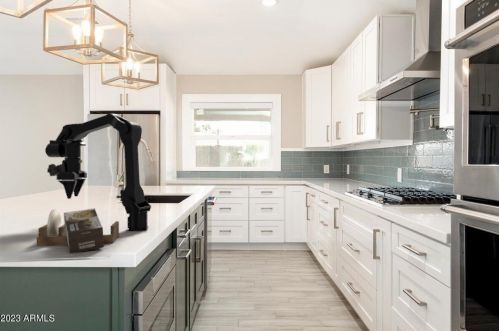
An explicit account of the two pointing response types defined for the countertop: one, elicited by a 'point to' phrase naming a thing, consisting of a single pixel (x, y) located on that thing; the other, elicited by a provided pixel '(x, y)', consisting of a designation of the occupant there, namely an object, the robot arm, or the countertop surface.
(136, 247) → the countertop surface
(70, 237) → the coffee box
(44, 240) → the rack
